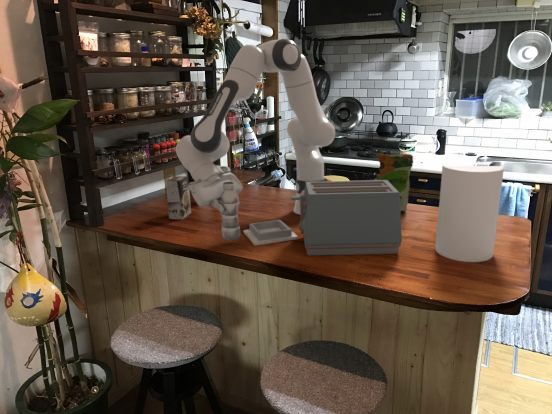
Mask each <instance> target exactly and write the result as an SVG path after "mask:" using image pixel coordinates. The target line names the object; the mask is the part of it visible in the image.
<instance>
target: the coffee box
mask: <svg viewBox="0 0 552 414" xmlns="http://www.w3.org/2000/svg"><path fill="white" fill-rule="evenodd" d="M189 183H190V182H189V176H187V175H185V176H184V175H183V176H182V175H181V176H178V175H177V176H176V175H175V176H173V177H171V178H169V179H167V180H165V185H166V198H167V199H166V201H167V209H168V211H167V212H168V219H169V220H180V221H181V220H182V221H183V220H184V219H186V218H187V217H188V216H189V215H191V214H192V209H191V208H192V207H191V198H190V197H191V196H190V195H191V194H190V190H189V188H188V185H189Z"/></svg>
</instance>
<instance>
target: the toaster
mask: <svg viewBox="0 0 552 414" xmlns="http://www.w3.org/2000/svg"><path fill="white" fill-rule="evenodd" d="M305 183H306V186H305V191H304V195H300V197H299V196H296V195H291V196H290V199H291V201H296V200H299V199H300V215H299V216H300V218H299V219H300V221H298V228H299V232H300V235H302V236H303V243H304V249H305V251H306V255H307V256H308V257H309V256H311V257H313V256H352V255H353V256H357V255H358V256H359V255H360V256H361V255H362V256H363V255H389V254H390V255H397V254H398V253H399V250H400V249H399V248H400V247H401V246H402V242H403V241H402V239H403V238H402V237H403V236H402V217H401V213H402V211H401V212H400V197H399V192H398V191H397V190H396V189H395V188H394V187H393V186H392V185H391V183H390V182H389V181H388V180H377V179H376V180H375V179H371V180H370V179H369V180H368V179H367V180H332V181H320V182H305Z"/></svg>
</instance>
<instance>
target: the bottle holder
mask: <svg viewBox="0 0 552 414" xmlns="http://www.w3.org/2000/svg"><path fill="white" fill-rule="evenodd" d="M248 227H249V229H248V228H247V229H243V233H244V235H245V236H246V237H247V238H248V239H249V241H250V242H251V243H252V244H253V246H261V245H267V244H274V243H280V242H286V241H287V242H288V241H294V240H298V239H299V236H298V235H297V234H296V233H295V232H294V231H292V230H293V229H292V228H290V227H289V226H288V225H287V224H286V223H285V222H284V221H282V220H281V219H275V220H268V221H267V220H266V221H262V222H259V221H258V222H254V223H253V222H252V223H249V225H248Z"/></svg>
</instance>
